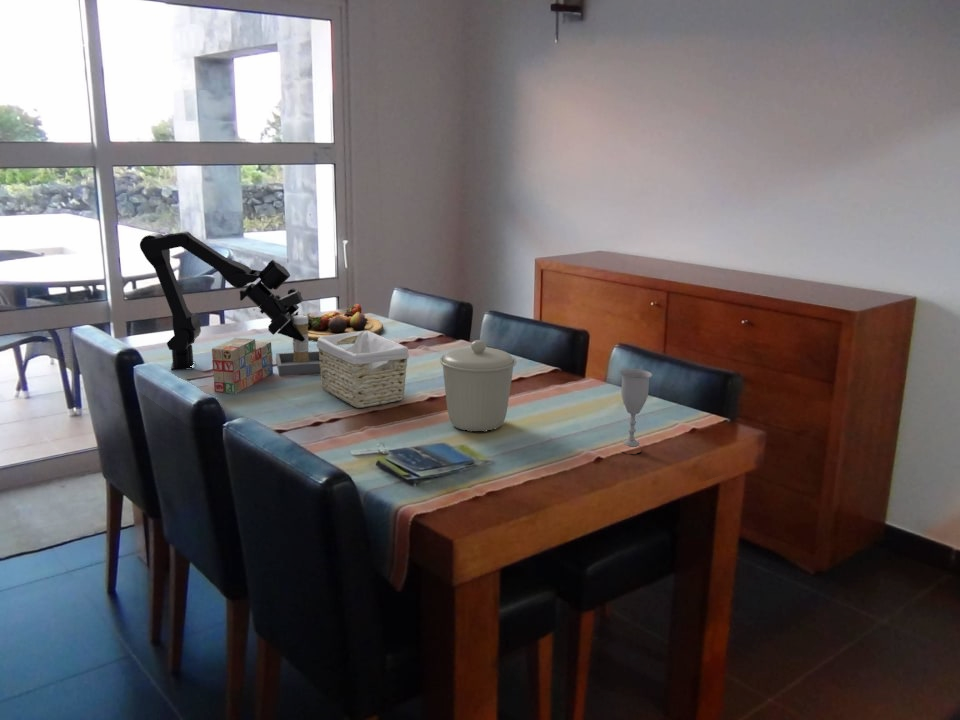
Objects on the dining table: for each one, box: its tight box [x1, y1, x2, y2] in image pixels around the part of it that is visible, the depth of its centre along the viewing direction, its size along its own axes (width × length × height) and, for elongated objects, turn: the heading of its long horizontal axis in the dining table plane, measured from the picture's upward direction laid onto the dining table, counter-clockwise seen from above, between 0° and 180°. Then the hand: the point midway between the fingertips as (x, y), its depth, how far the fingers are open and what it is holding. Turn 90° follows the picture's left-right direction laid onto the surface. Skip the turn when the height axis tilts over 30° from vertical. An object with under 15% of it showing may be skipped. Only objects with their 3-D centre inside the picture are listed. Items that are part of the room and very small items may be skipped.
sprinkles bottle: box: [292, 314, 310, 363], centre depth 247 cm, size 5×5×13 cm
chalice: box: [620, 368, 653, 447], centre depth 188 cm, size 7×7×18 cm
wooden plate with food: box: [303, 303, 384, 342], centre depth 294 cm, size 32×32×8 cm
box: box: [275, 350, 321, 377], centre depth 249 cm, size 14×14×3 cm
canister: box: [439, 339, 517, 432], centre depth 201 cm, size 18×18×21 cm
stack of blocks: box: [211, 337, 274, 395], centre depth 233 cm, size 21×6×12 cm, turn 166°
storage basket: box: [316, 330, 410, 409], centre depth 224 cm, size 24×16×15 cm
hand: (305, 338), depth 247 cm, fingers closed on sprinkles bottle, 4 cm apart
